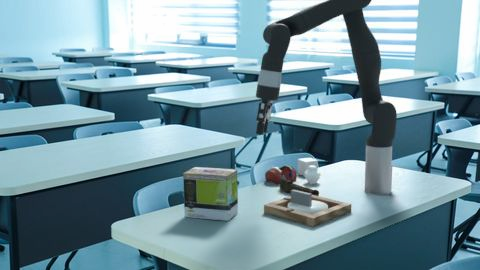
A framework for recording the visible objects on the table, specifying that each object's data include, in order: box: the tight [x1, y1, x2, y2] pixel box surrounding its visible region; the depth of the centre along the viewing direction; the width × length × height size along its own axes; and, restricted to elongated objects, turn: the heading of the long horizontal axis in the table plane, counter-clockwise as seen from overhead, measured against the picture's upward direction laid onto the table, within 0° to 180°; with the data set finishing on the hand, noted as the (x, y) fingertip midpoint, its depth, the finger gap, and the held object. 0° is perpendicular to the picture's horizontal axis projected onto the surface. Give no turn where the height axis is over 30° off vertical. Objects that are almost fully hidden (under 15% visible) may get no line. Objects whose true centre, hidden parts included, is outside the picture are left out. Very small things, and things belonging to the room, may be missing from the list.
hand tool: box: [279, 178, 320, 196], centre depth 220 cm, size 19×4×5 cm, turn 34°
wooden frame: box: [263, 195, 352, 228], centre depth 199 cm, size 20×20×3 cm
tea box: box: [182, 166, 239, 222], centre depth 196 cm, size 15×10×15 cm
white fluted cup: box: [304, 165, 322, 185], centre depth 235 cm, size 6×6×7 cm
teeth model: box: [264, 165, 298, 185], centre depth 239 cm, size 8×6×12 cm
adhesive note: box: [296, 157, 319, 177], centre depth 249 cm, size 6×6×6 cm
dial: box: [288, 190, 328, 214], centre depth 198 cm, size 13×13×6 cm
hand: (261, 133), depth 204 cm, fingers open, 8 cm apart
